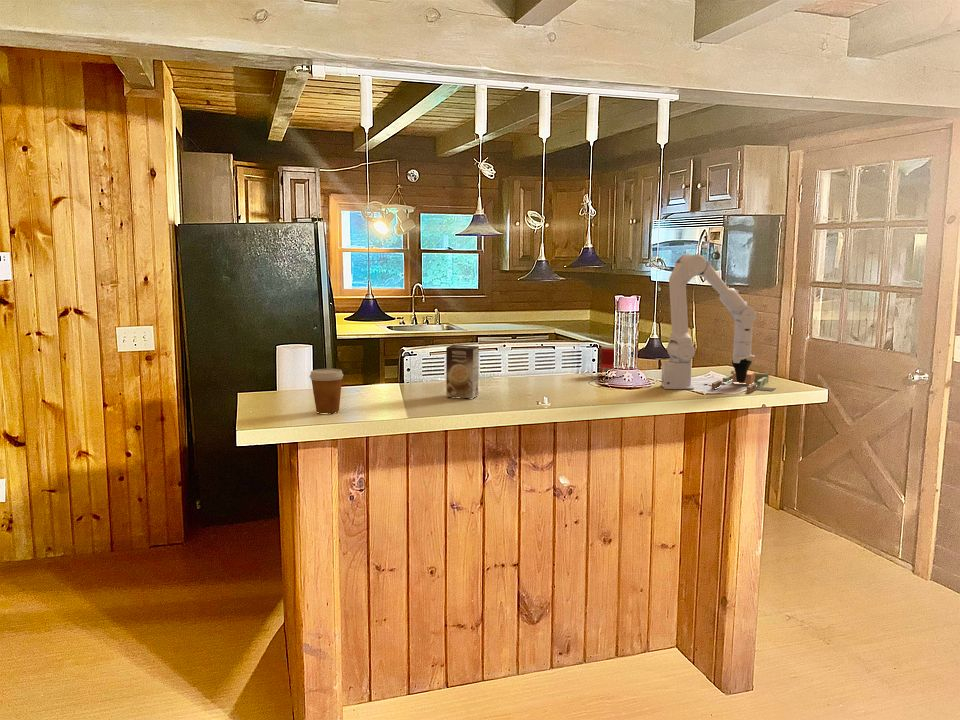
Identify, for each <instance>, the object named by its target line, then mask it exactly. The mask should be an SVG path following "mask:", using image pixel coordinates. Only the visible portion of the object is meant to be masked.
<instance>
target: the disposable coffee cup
mask: <svg viewBox="0 0 960 720" xmlns="http://www.w3.org/2000/svg"><path fill="white" fill-rule="evenodd" d="M309 378H310V381H311V387H312V391H313V398H314V403H315V404H314V405H315V411H316V413H317V412H319V413H335V412H338V411H339V412H340V405H341V402H340V401H341V394H342V392H341V391H342V382H343V378H344V373H343V370H342V369H339V368H318V369H314V370H311V371H310V375H309ZM339 412H338V413H339ZM335 414H336V413H335Z"/></svg>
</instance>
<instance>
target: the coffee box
mask: <svg viewBox="0 0 960 720" xmlns="http://www.w3.org/2000/svg"><path fill="white" fill-rule="evenodd" d="M445 351H446V354H445V355H446V358H445V359H446V363H445V364H446V366H445V367H446V369H445V370H446V373H445V374H446V376H445V377H446V380H445V381H446V383H445V384H446V385H445V387H446V391H445V392H446V394H445V397H446V396H447V397H460V398H474V397H475V396H477V395H478V396H479V372H480V371H479V361H480V360H479V359H480V358H479V356H480V353H479V351H480V347H479V346H477V345H476V346H475V345H462V344H461V345H460V344H452V345H449V346H447V347H446V350H445ZM474 399H475V398H474Z"/></svg>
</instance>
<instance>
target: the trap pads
mask: <svg viewBox="0 0 960 720" xmlns="http://www.w3.org/2000/svg"><path fill="white" fill-rule="evenodd" d="M776 389H777V388H776V387H765V386H762V387H756V390H755V391H764V392H774V391H775V390H776Z"/></svg>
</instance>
